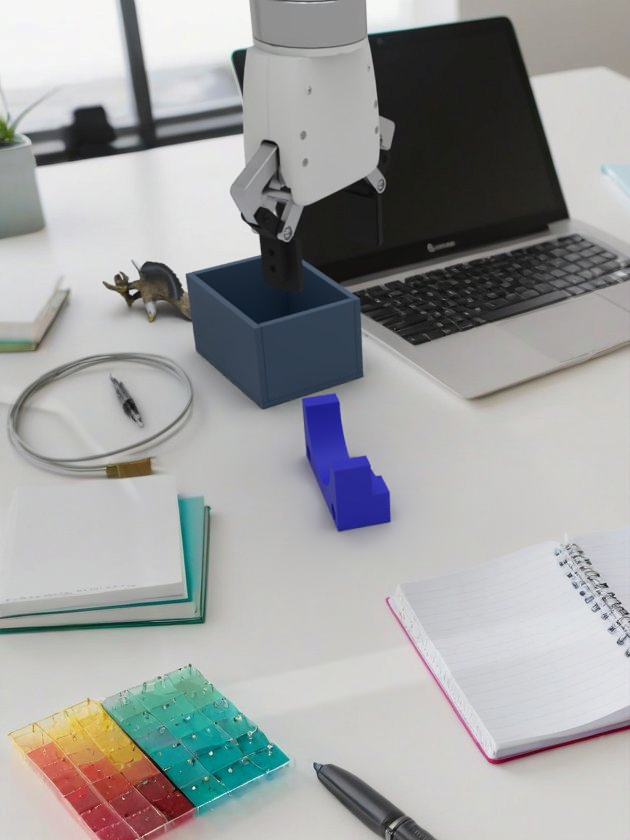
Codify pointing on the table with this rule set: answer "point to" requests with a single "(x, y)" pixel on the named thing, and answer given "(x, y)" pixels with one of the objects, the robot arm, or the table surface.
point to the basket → (275, 330)
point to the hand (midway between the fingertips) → (325, 263)
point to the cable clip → (342, 468)
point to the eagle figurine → (152, 287)
